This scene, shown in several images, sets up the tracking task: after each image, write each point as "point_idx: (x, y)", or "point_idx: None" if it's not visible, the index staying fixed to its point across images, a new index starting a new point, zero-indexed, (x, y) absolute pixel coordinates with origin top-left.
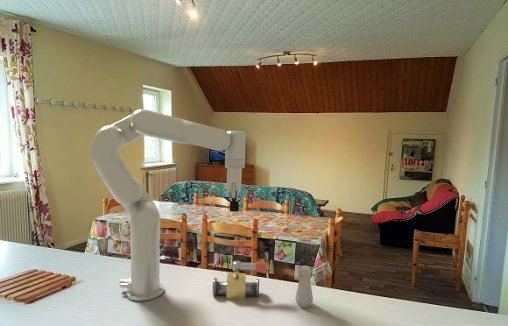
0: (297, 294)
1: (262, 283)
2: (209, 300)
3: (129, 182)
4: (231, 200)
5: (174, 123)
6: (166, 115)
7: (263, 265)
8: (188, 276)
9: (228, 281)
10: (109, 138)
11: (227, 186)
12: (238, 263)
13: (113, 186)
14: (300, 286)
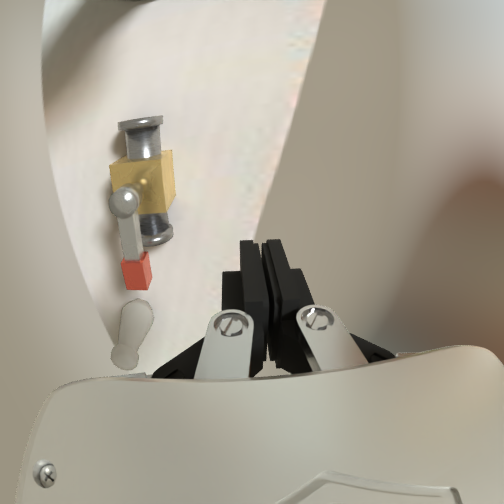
0: (127, 312)
1: (220, 234)
2: (115, 116)
3: None
4: (209, 331)
5: None
6: None
7: (125, 281)
8: (251, 27)
9: (110, 170)
10: None
11: (16, 494)
12: (114, 211)
13: None
14: (121, 328)
